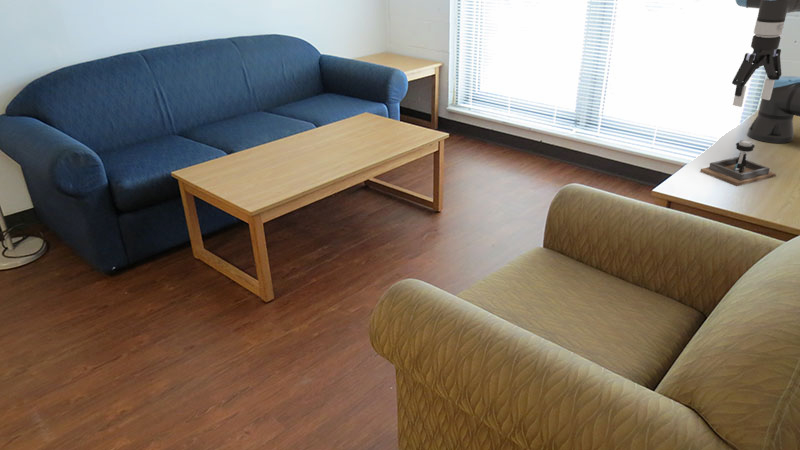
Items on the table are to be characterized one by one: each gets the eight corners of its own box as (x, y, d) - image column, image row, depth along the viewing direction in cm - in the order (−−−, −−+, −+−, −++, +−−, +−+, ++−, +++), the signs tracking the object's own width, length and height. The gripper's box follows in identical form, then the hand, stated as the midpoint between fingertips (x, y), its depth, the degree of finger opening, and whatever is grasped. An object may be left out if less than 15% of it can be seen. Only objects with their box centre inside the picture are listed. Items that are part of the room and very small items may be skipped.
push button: (743, 176, 193) (751, 146, 189) (726, 172, 196) (733, 143, 192) (749, 170, 197) (757, 141, 193) (732, 166, 201) (739, 138, 196)
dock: (737, 163, 206) (739, 154, 205) (775, 176, 195) (777, 167, 193) (700, 171, 200) (702, 163, 198) (736, 186, 188) (739, 177, 187)
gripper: (751, 41, 177) (735, 111, 187) (804, 32, 186) (787, 99, 196) (728, 38, 183) (714, 105, 193) (781, 29, 192) (766, 94, 202)
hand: (751, 102), depth 194 cm, fingers open, 13 cm apart
